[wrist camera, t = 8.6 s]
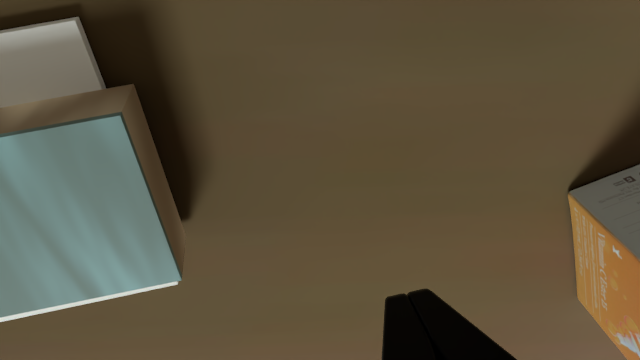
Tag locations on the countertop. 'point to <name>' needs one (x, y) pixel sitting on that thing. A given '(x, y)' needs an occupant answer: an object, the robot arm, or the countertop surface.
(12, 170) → the beige and teal box
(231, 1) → the countertop surface
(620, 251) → the small box
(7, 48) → the flat white panel
